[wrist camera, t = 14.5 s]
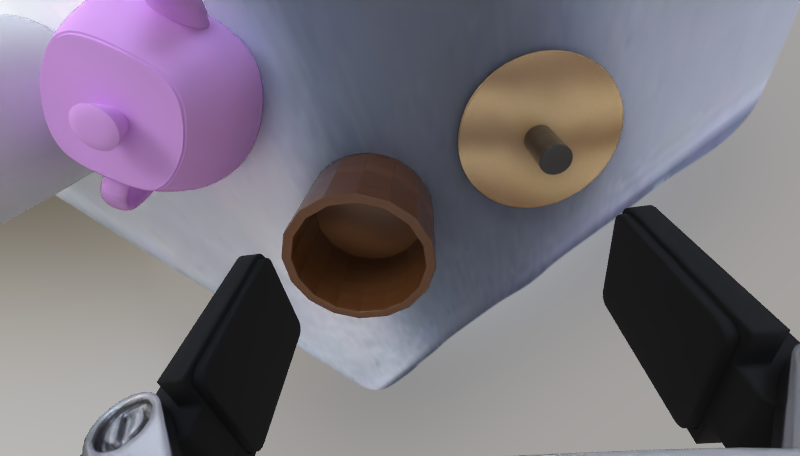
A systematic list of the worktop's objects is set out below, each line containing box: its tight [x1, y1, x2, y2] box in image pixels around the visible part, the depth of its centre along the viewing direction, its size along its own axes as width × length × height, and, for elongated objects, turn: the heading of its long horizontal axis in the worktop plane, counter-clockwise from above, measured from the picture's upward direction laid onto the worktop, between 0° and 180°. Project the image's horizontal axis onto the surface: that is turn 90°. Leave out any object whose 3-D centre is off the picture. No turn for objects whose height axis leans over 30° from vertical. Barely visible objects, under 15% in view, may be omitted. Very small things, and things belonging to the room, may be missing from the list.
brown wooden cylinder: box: [282, 153, 436, 318], centre depth 34 cm, size 13×13×8 cm
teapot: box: [40, 0, 263, 211], centre depth 26 cm, size 20×13×12 cm, turn 153°
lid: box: [458, 50, 623, 208], centre depth 30 cm, size 14×14×6 cm
